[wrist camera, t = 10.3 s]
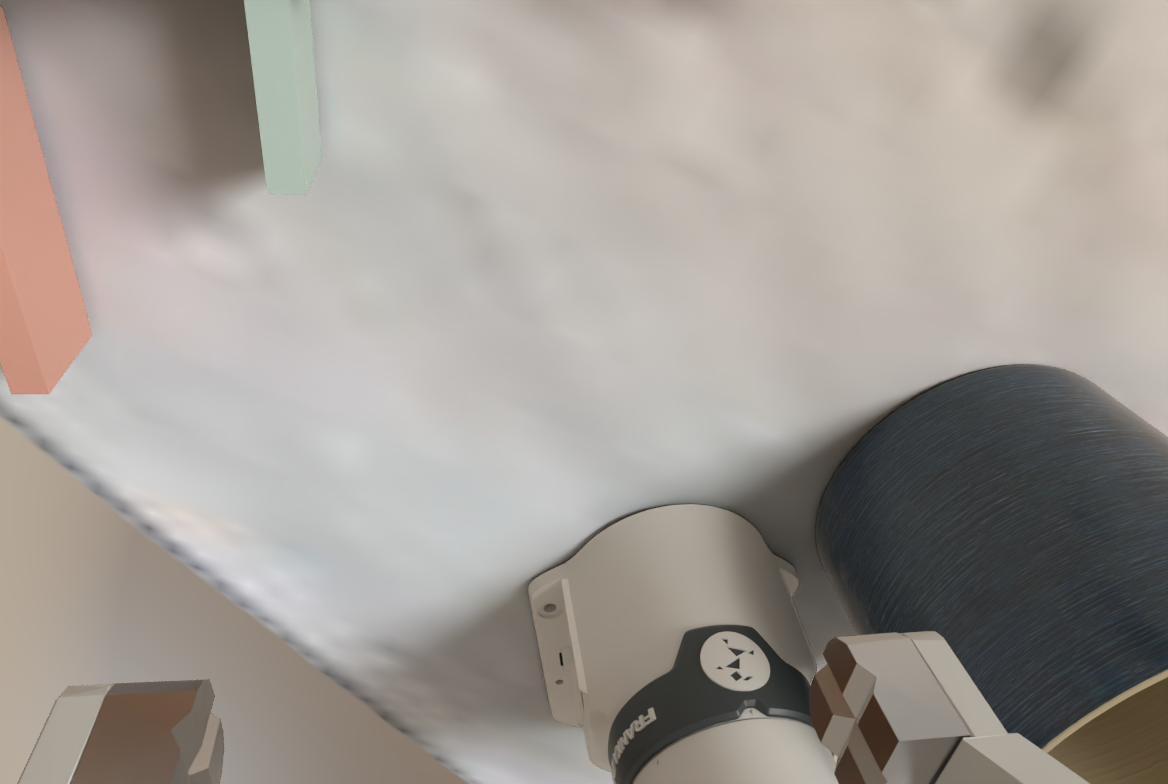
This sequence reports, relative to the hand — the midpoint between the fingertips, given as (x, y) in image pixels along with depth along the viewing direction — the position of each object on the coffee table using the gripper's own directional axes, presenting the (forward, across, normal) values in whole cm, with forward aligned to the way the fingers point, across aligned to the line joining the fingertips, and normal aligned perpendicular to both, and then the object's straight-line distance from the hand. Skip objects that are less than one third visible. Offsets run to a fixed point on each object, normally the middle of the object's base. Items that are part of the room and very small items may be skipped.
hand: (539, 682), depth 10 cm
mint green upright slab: (+29, +7, -5) cm, 30 cm away
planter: (+29, -34, +23) cm, 51 cm away
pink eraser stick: (+29, +18, +4) cm, 34 cm away
